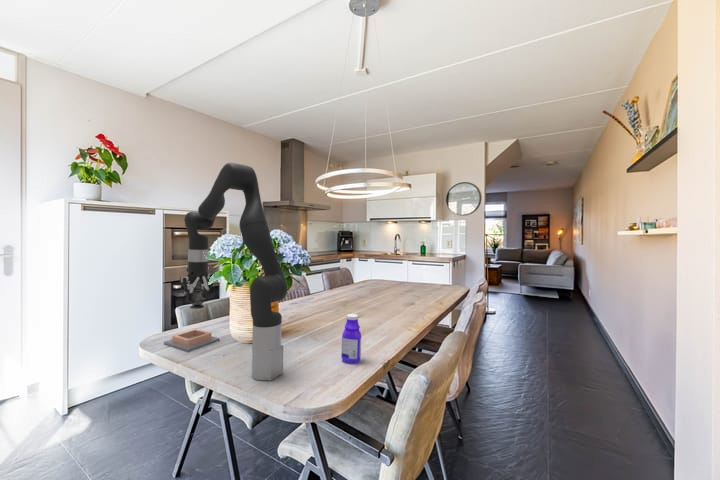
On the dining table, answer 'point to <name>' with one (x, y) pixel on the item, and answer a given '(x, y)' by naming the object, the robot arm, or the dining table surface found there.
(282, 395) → the dining table surface
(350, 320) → the bottle
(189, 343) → the tray
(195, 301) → the dark grey upright piece
